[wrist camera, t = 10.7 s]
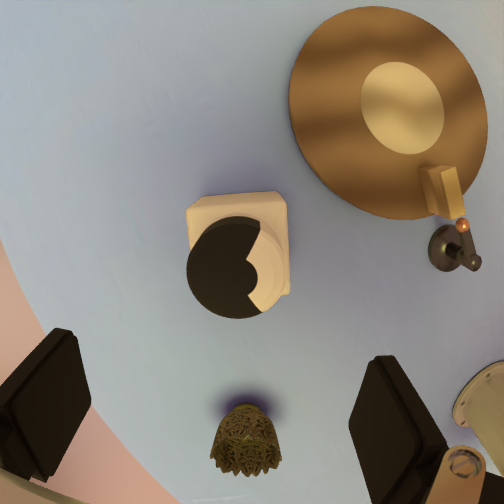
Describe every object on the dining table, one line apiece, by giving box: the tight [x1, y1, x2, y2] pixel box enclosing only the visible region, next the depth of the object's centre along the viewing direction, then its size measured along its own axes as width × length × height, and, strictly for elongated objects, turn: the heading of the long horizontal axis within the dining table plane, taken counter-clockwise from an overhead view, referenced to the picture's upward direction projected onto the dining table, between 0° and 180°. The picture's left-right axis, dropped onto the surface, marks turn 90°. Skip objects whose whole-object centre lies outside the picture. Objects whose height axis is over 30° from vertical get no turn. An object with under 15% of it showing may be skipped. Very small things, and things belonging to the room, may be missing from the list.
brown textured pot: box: [210, 403, 282, 477], centre depth 33 cm, size 8×7×8 cm
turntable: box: [288, 6, 488, 220], centre depth 23 cm, size 20×20×6 cm
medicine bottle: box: [186, 191, 290, 319], centre depth 24 cm, size 7×7×12 cm
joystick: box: [428, 218, 482, 272], centre depth 28 cm, size 7×5×6 cm
